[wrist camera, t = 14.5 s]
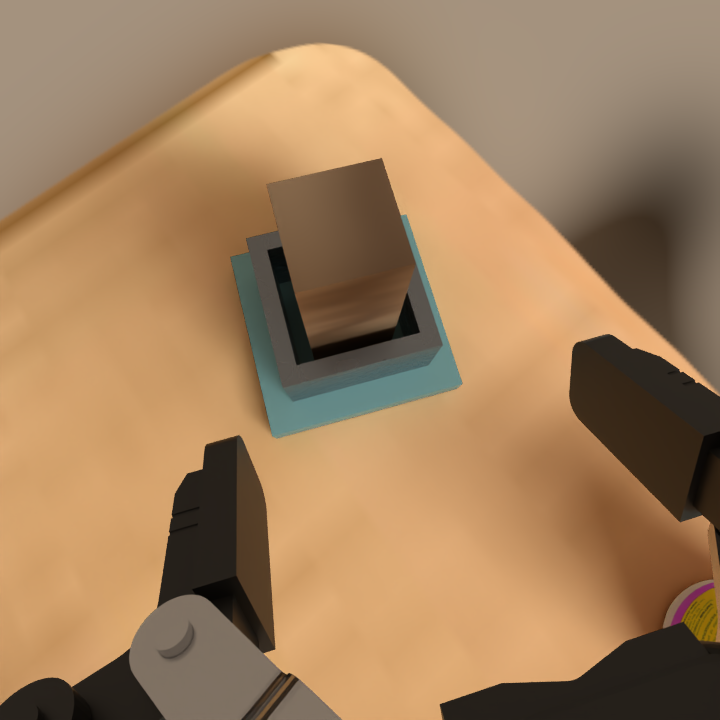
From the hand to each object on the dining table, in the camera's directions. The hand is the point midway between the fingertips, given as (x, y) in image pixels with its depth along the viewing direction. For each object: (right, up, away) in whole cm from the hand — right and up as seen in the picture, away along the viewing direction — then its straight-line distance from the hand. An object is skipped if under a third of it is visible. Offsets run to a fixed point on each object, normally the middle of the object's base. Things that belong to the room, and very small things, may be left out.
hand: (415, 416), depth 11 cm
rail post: (-2, +3, +14) cm, 15 cm away
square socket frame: (-2, +4, +14) cm, 15 cm away
